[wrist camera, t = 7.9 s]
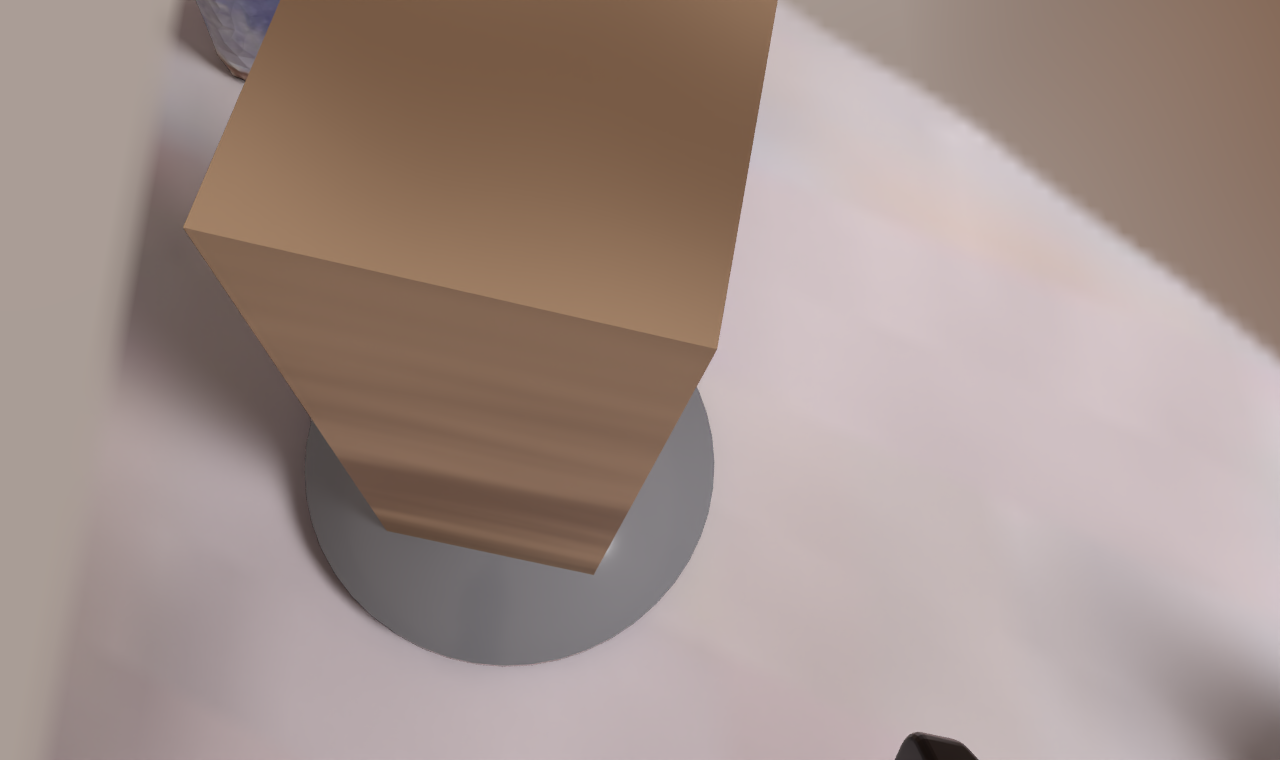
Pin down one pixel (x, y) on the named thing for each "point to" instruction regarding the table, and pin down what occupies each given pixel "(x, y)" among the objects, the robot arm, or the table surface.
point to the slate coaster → (515, 563)
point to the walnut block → (490, 245)
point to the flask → (237, 30)
